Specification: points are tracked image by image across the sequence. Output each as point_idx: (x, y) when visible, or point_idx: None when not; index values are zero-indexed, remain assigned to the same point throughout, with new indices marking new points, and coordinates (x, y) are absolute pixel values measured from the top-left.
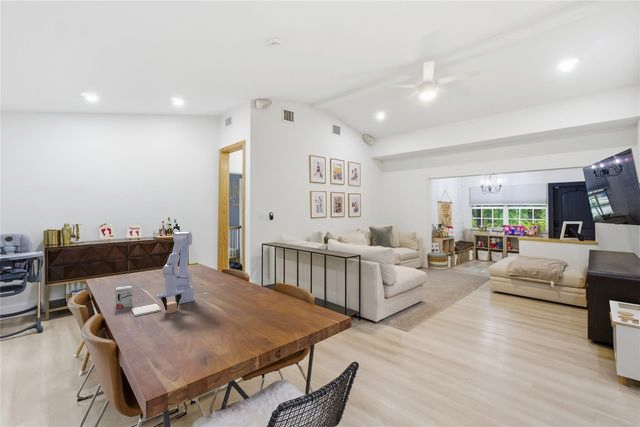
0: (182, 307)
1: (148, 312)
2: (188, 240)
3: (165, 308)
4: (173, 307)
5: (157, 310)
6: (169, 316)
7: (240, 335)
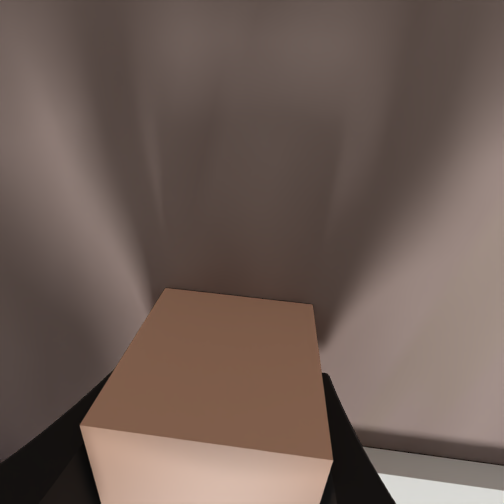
0: (77, 380)
1: (495, 481)
2: None
3: (341, 405)
4: (200, 353)
5: (381, 466)
6: (351, 133)
7: None
